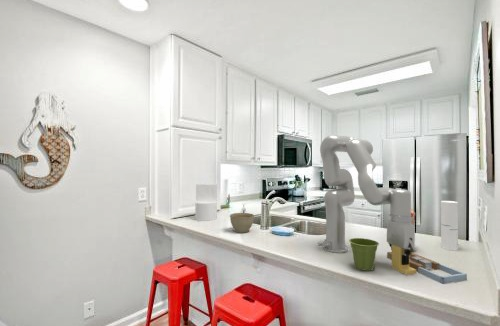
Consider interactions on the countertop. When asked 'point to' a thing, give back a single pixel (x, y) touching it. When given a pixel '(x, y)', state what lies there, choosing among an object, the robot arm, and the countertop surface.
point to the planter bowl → (241, 221)
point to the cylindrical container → (449, 225)
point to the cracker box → (413, 223)
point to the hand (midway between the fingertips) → (400, 262)
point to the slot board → (415, 265)
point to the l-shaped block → (400, 261)
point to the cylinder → (206, 202)
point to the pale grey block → (416, 259)
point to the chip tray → (453, 277)
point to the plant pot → (363, 252)
